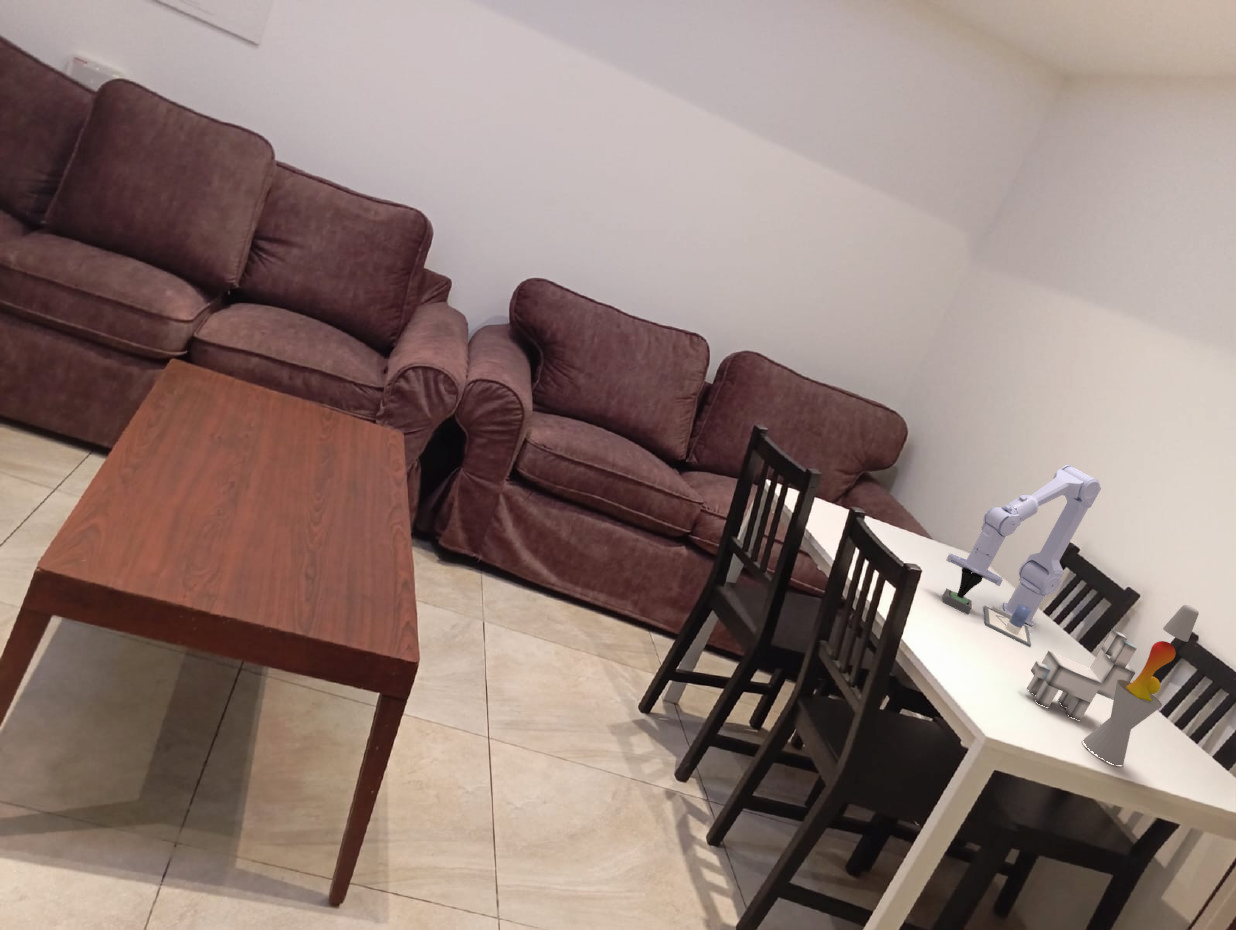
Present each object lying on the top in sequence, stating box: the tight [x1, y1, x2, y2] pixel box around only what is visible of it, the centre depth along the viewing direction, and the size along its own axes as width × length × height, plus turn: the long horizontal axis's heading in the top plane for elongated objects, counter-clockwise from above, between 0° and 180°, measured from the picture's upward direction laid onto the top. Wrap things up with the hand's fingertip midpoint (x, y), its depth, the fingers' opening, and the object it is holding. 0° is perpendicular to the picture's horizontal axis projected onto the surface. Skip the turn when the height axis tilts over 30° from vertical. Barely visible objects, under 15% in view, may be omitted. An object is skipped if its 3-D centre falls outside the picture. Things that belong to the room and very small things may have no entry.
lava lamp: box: [1082, 604, 1199, 766], centre depth 205 cm, size 9×9×35 cm
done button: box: [949, 591, 969, 605], centre depth 269 cm, size 5×5×2 cm
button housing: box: [942, 587, 973, 615], centre depth 269 cm, size 7×7×2 cm
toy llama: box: [1026, 629, 1137, 721], centre depth 223 cm, size 8×18×20 cm, turn 85°
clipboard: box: [983, 605, 1032, 648], centre depth 268 cm, size 16×12×2 cm
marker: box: [1005, 604, 1031, 634], centre depth 263 cm, size 3×3×7 cm
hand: (959, 596), depth 268 cm, fingers closed, pressing on done button
